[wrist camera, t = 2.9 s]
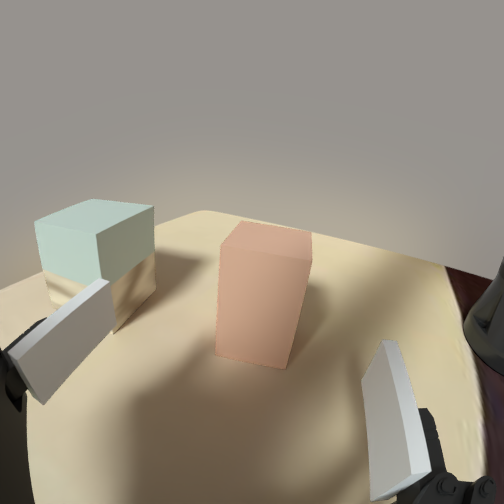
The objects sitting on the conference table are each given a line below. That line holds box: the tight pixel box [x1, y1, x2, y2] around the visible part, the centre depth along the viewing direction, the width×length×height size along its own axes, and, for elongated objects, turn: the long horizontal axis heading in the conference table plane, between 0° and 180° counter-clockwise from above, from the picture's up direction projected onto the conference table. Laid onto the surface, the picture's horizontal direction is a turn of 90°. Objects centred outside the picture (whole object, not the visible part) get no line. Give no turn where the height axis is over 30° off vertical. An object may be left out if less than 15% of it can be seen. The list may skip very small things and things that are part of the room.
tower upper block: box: [34, 199, 155, 286], centre depth 24 cm, size 9×9×5 cm
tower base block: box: [43, 252, 157, 334], centre depth 26 cm, size 9×9×5 cm
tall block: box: [215, 221, 312, 369], centre depth 22 cm, size 6×6×10 cm
